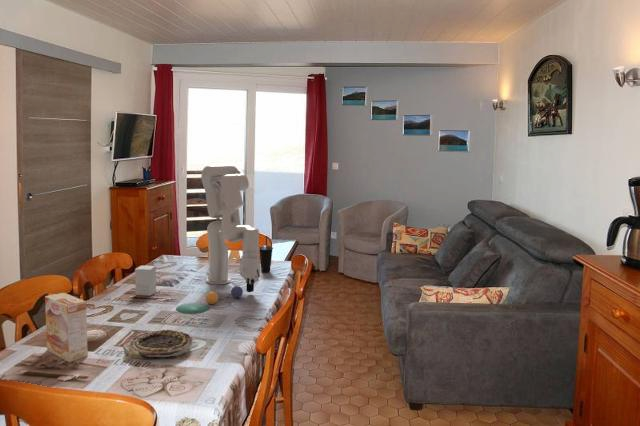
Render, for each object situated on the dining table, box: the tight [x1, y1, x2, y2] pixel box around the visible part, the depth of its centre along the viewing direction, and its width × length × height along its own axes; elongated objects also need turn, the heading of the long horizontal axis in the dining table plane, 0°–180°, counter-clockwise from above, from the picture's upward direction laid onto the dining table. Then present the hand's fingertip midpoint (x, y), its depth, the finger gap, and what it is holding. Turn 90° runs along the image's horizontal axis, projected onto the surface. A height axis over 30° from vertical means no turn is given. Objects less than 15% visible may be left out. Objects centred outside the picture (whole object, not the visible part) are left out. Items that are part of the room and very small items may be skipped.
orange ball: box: [205, 291, 219, 305], centre depth 246 cm, size 6×6×6 cm
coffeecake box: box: [44, 292, 89, 363], centre depth 187 cm, size 15×7×20 cm, turn 52°
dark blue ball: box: [230, 285, 244, 299], centre depth 256 cm, size 6×6×6 cm
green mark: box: [176, 302, 210, 315], centre depth 240 cm, size 14×14×1 cm
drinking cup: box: [259, 236, 274, 274], centre depth 305 cm, size 8×8×20 cm
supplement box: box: [134, 265, 157, 296], centre depth 258 cm, size 7×7×13 cm
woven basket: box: [123, 329, 193, 362], centre depth 193 cm, size 28×27×5 cm
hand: (250, 291), depth 262 cm, fingers closed
